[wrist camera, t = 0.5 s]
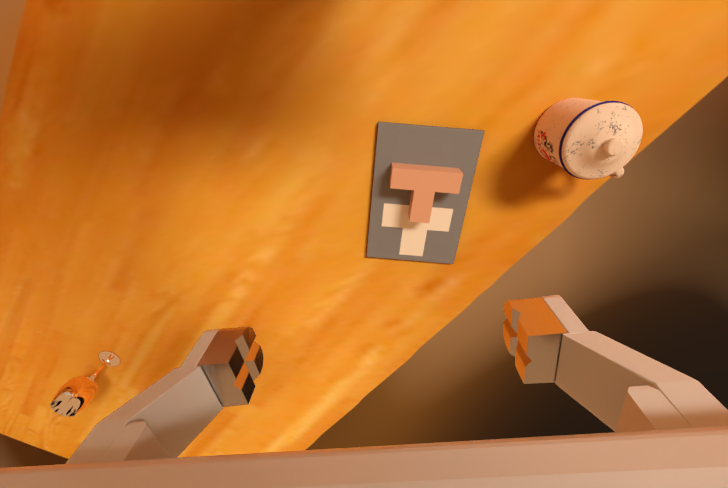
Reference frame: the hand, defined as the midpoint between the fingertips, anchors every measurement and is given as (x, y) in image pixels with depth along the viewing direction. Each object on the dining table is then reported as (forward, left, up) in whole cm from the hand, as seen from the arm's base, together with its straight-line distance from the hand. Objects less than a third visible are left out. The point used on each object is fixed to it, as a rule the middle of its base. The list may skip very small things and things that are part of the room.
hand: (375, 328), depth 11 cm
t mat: (+10, +8, -42) cm, 44 cm away
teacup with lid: (-1, +28, -42) cm, 50 cm away
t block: (+9, +8, -41) cm, 43 cm away
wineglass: (+52, -53, -42) cm, 86 cm away
